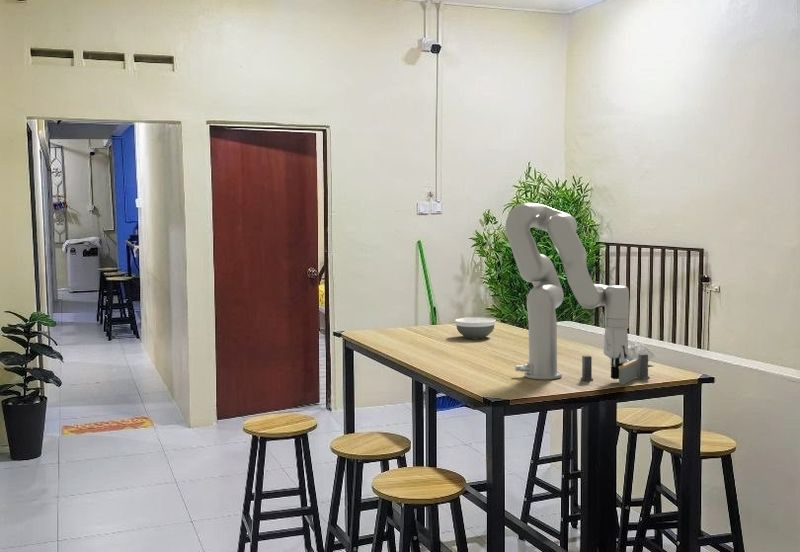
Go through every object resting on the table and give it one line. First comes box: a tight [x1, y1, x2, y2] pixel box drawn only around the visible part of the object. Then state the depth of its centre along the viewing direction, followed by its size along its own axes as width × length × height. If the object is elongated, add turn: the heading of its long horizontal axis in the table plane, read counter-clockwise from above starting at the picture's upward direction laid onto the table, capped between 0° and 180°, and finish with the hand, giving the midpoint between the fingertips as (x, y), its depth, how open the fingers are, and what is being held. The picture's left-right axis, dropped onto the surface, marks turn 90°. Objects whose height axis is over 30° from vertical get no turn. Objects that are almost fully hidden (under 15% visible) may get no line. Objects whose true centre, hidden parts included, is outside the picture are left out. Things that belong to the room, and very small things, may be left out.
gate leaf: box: [618, 359, 639, 386], centre depth 262 cm, size 16×1×6 cm, turn 145°
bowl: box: [454, 316, 497, 339], centre depth 363 cm, size 19×19×8 cm
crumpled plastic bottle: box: [623, 340, 656, 364], centre depth 290 cm, size 12×9×10 cm
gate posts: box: [580, 354, 650, 382], centre depth 267 cm, size 23×3×8 cm, turn 96°
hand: (616, 378), depth 262 cm, fingers closed
